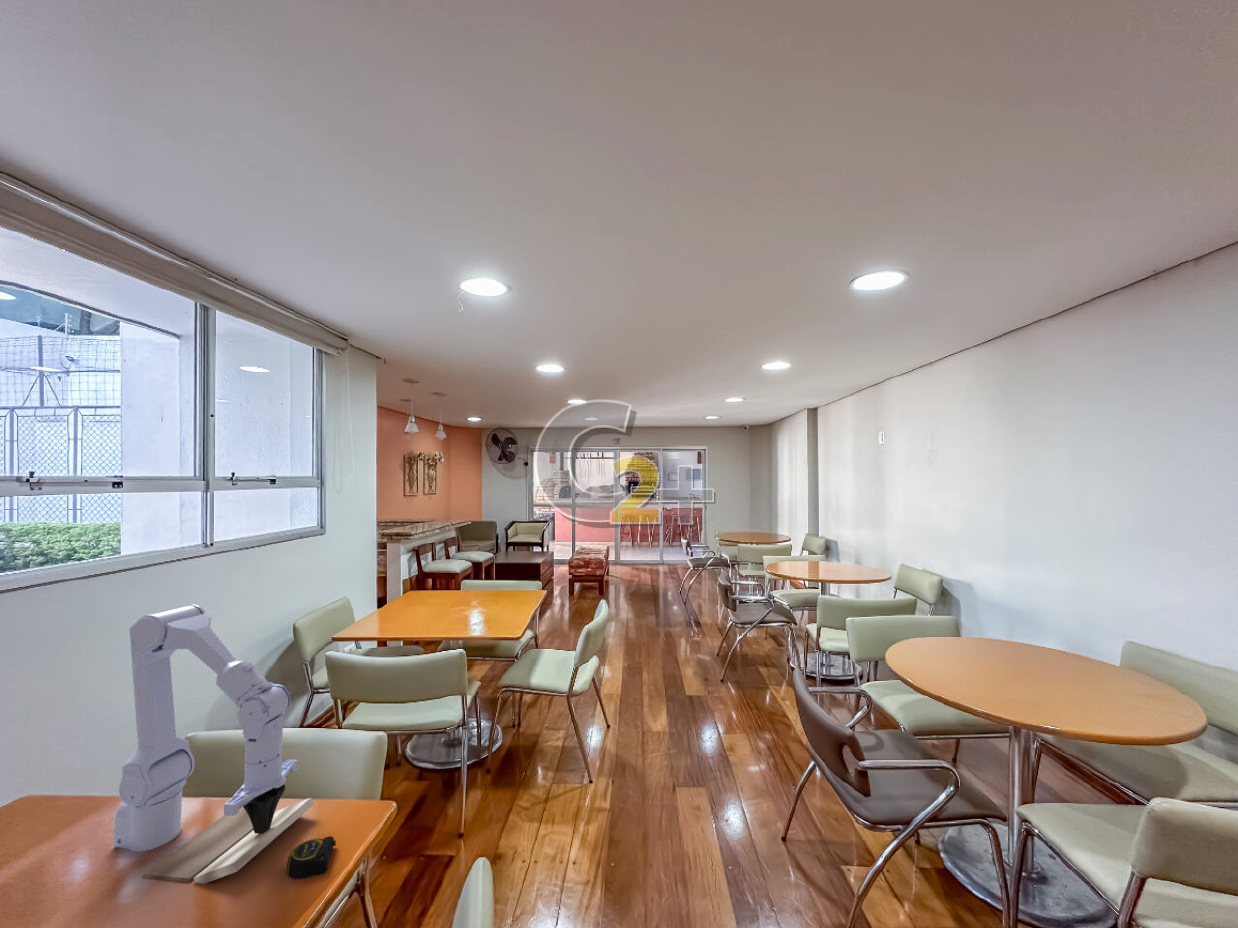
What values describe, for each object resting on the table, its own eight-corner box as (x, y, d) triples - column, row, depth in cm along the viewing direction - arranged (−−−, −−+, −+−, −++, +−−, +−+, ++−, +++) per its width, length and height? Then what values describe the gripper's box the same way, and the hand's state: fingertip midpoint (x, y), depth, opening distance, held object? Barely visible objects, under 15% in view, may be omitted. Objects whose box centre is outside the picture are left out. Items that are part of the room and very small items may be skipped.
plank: (193, 887, 85) (191, 878, 85) (277, 818, 102) (275, 811, 103) (236, 871, 84) (233, 862, 84) (313, 804, 102) (311, 797, 102)
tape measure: (326, 880, 86) (327, 857, 87) (280, 889, 84) (281, 866, 85) (335, 853, 93) (336, 832, 93) (293, 861, 91) (294, 839, 91)
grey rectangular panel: (142, 882, 86) (143, 873, 86) (234, 815, 104) (234, 807, 104) (189, 887, 85) (189, 878, 85) (274, 818, 103) (274, 810, 103)
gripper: (250, 779, 86) (248, 860, 86) (311, 737, 101) (310, 807, 100) (213, 777, 87) (211, 858, 86) (279, 736, 102) (277, 805, 101)
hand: (262, 830), depth 93 cm, fingers closed, pressing on plank
